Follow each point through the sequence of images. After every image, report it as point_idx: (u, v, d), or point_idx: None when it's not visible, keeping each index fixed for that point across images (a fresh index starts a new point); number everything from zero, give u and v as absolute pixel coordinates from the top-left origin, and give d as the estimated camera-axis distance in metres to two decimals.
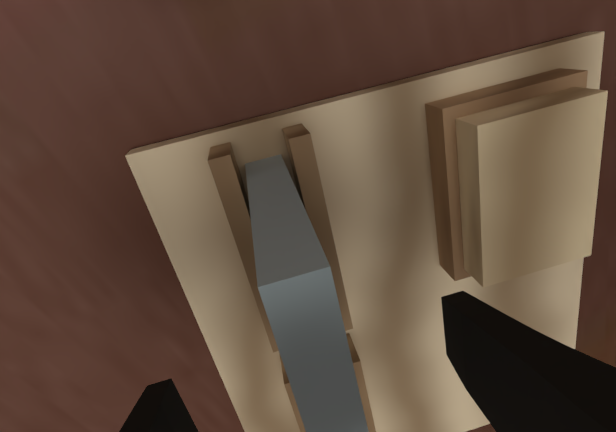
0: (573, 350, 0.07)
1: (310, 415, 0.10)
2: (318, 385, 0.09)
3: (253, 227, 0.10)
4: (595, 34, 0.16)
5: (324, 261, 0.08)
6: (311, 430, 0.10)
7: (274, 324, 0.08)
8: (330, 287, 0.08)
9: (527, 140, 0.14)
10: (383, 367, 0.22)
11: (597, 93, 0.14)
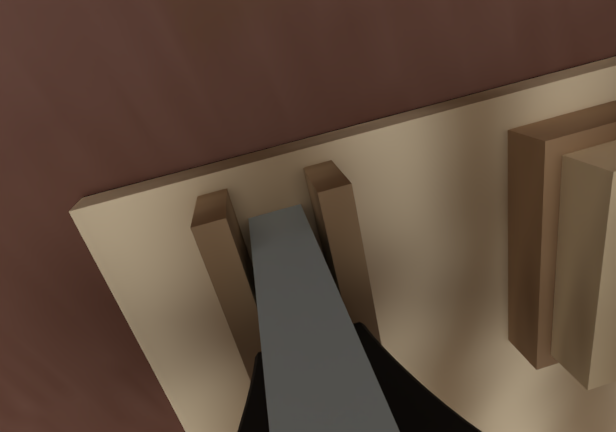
0: (429, 396, 0.07)
1: None
2: None
3: (270, 398, 0.05)
4: None
5: None
6: None
7: None
8: None
9: None
10: None
11: None
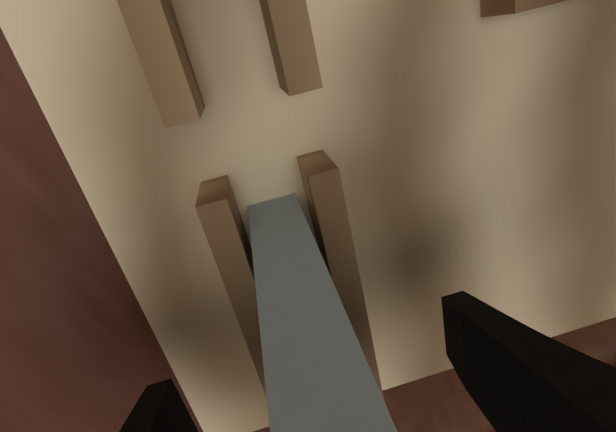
0: (573, 350, 0.07)
1: None
2: None
3: (264, 343, 0.06)
4: None
5: None
6: None
7: None
8: None
9: None
10: (381, 225, 0.13)
11: None
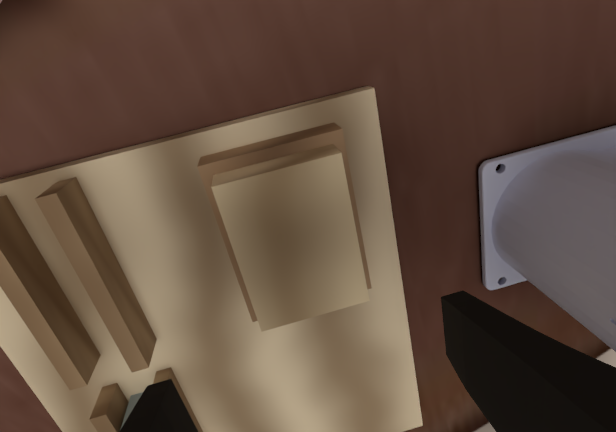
0: (573, 350, 0.07)
1: None
2: None
3: None
4: (365, 90, 0.17)
5: None
6: None
7: None
8: None
9: (268, 198, 0.15)
10: (215, 398, 0.23)
11: (331, 155, 0.15)
